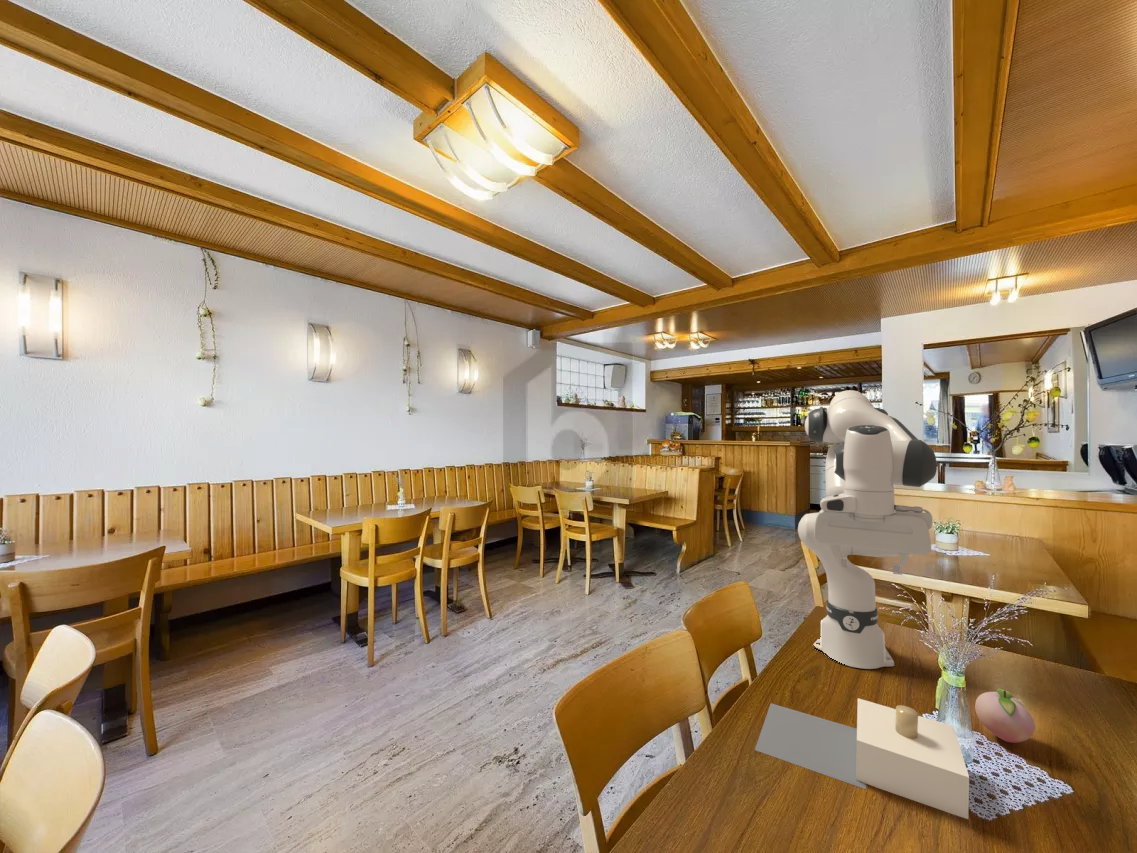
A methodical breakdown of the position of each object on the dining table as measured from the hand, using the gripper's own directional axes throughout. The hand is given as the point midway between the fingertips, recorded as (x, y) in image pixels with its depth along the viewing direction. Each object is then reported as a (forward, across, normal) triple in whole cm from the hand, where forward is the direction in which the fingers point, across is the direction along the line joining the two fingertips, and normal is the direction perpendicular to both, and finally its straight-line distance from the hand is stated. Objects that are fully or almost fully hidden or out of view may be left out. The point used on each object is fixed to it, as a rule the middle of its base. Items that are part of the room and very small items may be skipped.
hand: (869, 569), depth 94 cm
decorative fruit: (+33, -22, -10) cm, 41 cm away
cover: (+33, -5, +11) cm, 35 cm away
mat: (+33, +10, +11) cm, 36 cm away
